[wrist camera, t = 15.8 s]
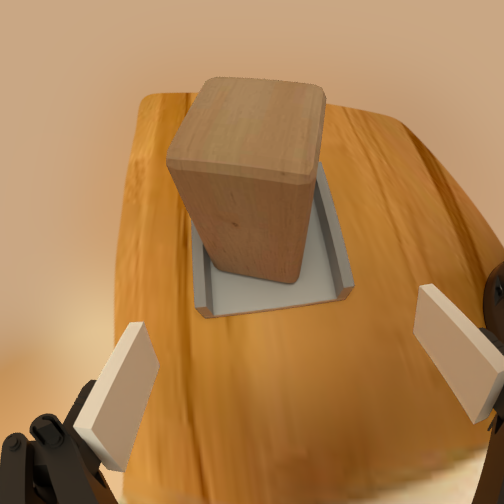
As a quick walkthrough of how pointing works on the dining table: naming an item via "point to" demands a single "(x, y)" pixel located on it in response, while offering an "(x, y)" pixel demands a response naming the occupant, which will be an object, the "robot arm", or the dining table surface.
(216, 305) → the end cap cradle
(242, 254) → the wooden block
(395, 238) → the dining table surface
